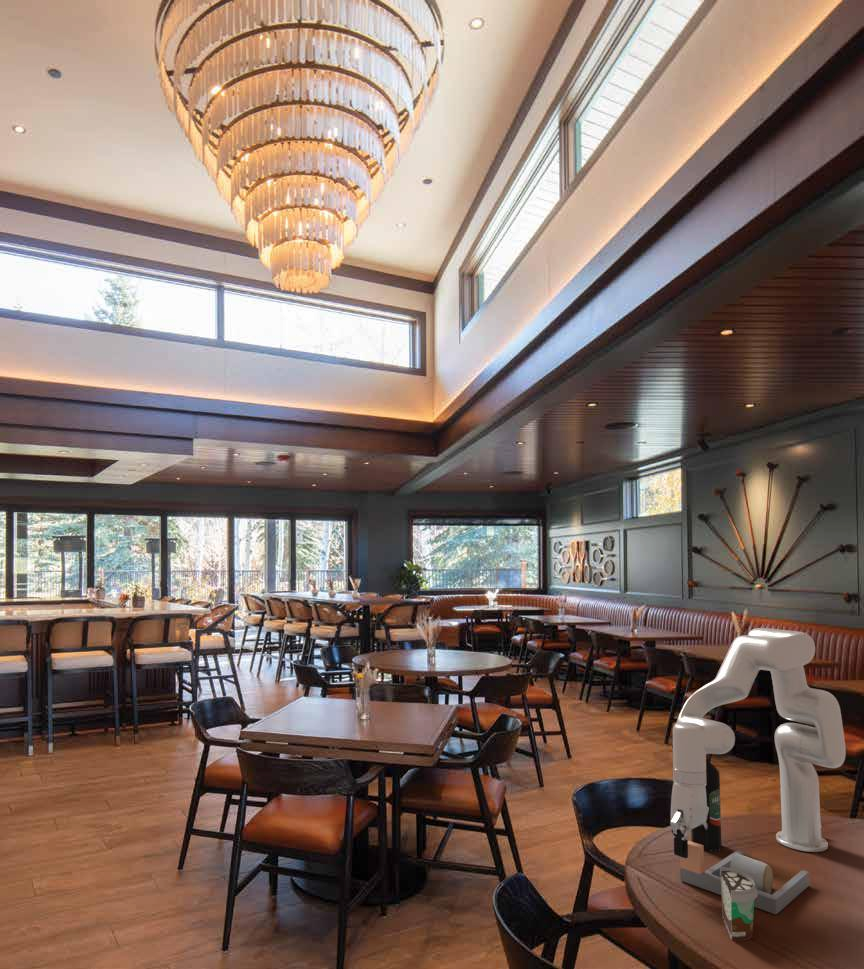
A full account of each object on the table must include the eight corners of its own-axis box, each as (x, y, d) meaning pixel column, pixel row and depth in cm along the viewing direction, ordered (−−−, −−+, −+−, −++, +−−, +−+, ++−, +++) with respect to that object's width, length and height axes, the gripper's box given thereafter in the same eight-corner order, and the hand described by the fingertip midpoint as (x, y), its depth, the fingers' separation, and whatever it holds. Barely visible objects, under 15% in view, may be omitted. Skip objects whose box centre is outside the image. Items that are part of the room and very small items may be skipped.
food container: (766, 947, 141) (764, 894, 142) (733, 944, 143) (731, 891, 144) (751, 917, 153) (749, 868, 154) (721, 914, 155) (719, 865, 156)
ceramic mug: (766, 904, 159) (766, 868, 160) (728, 893, 164) (728, 858, 165) (777, 888, 168) (776, 853, 168) (741, 878, 173) (740, 844, 174)
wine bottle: (696, 837, 197) (693, 726, 200) (724, 844, 192) (721, 730, 195) (688, 846, 191) (685, 731, 194) (717, 853, 186) (714, 736, 189)
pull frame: (718, 856, 184) (717, 820, 185) (809, 885, 168) (807, 845, 169) (680, 880, 170) (679, 841, 171) (776, 914, 154) (774, 871, 155)
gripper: (691, 766, 180) (692, 837, 178) (657, 779, 168) (658, 855, 166) (720, 773, 174) (722, 846, 173) (687, 787, 163) (688, 865, 161)
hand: (690, 850), depth 169 cm, fingers open, 9 cm apart
